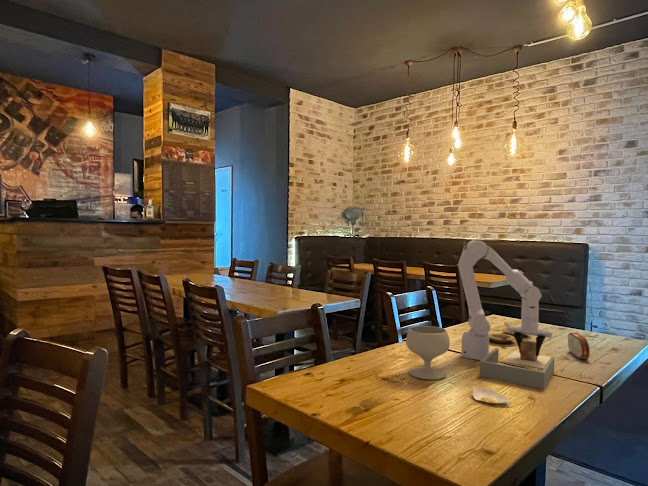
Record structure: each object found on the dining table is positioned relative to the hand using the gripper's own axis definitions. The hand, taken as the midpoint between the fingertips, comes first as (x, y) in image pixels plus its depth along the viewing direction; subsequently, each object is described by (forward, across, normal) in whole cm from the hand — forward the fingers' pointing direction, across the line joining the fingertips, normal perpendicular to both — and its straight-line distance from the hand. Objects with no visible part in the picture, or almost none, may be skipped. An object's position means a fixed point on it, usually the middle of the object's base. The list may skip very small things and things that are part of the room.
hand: (529, 354), depth 157 cm
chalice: (+2, -24, -38) cm, 45 cm away
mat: (+2, 0, 0) cm, 2 cm away
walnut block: (+2, 0, 0) cm, 2 cm away
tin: (+2, +14, +17) cm, 22 cm away
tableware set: (+3, -14, +28) cm, 31 cm away
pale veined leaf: (+3, -1, -48) cm, 48 cm away
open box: (+2, 0, -20) cm, 20 cm away
